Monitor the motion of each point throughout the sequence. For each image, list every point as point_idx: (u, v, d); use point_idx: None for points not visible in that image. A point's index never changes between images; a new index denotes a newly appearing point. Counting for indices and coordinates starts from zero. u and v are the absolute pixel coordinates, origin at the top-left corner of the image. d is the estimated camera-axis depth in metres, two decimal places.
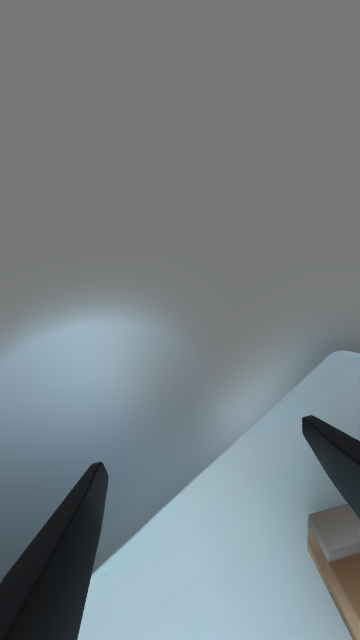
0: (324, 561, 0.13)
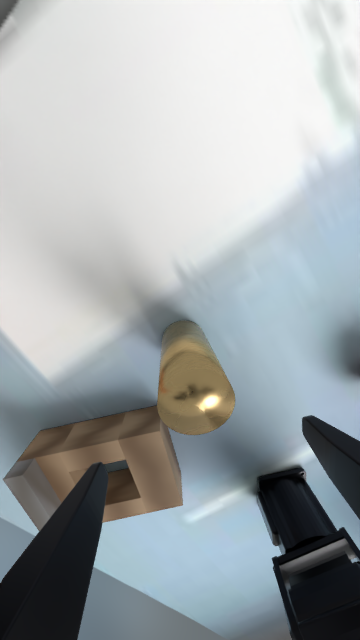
0: None
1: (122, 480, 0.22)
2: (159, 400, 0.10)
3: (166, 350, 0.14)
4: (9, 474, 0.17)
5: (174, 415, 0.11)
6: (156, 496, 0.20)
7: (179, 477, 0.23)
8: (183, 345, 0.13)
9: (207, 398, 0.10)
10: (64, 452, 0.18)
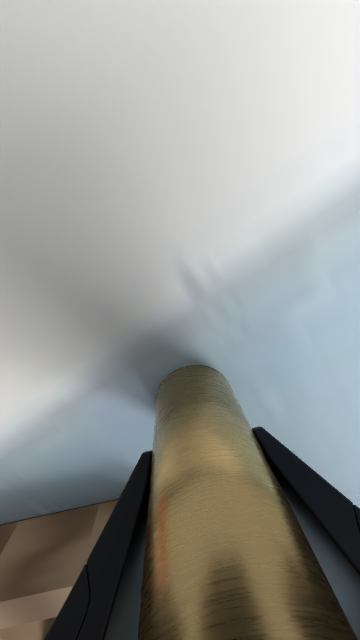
0: None
1: None
2: None
3: (163, 471, 0.06)
4: None
5: None
6: None
7: None
8: (206, 480, 0.05)
9: None
10: None
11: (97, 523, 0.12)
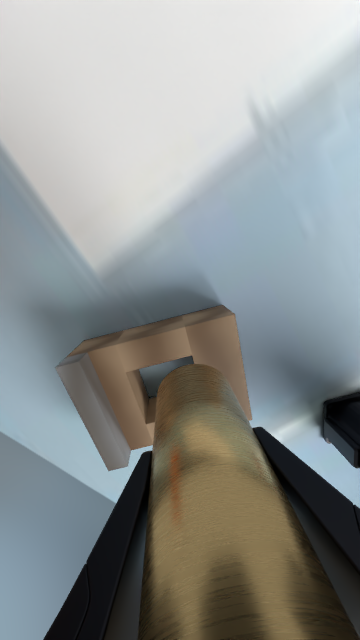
0: None
1: None
2: None
3: (163, 469, 0.06)
4: (61, 364, 0.14)
5: None
6: None
7: None
8: (207, 478, 0.05)
9: None
10: (122, 344, 0.15)
11: (184, 318, 0.17)
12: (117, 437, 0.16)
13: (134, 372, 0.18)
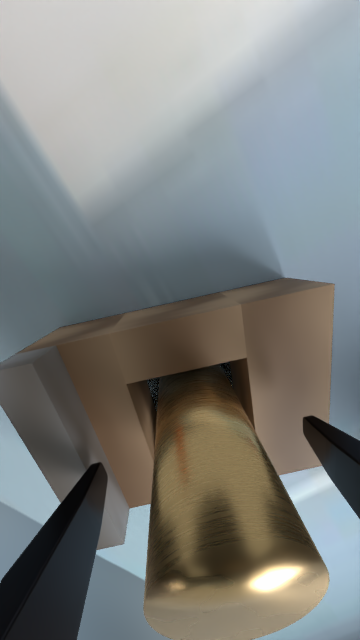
0: None
1: None
2: (148, 602, 0.04)
3: (166, 419, 0.08)
4: None
5: (184, 621, 0.05)
6: (286, 444, 0.11)
7: None
8: (198, 419, 0.07)
9: (264, 589, 0.04)
10: (122, 333, 0.08)
11: (228, 294, 0.10)
12: (107, 497, 0.09)
13: (140, 382, 0.11)
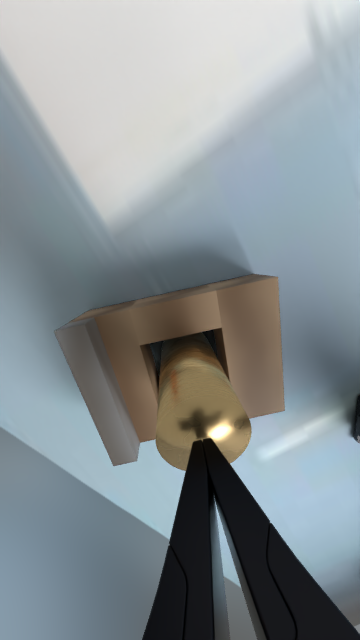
0: None
1: None
2: (158, 433, 0.08)
3: (166, 365, 0.12)
4: (61, 328, 0.11)
5: (176, 450, 0.09)
6: (253, 393, 0.15)
7: None
8: (186, 360, 0.11)
9: (217, 430, 0.08)
10: (137, 309, 0.12)
11: (211, 285, 0.14)
12: (126, 425, 0.13)
13: (147, 349, 0.15)
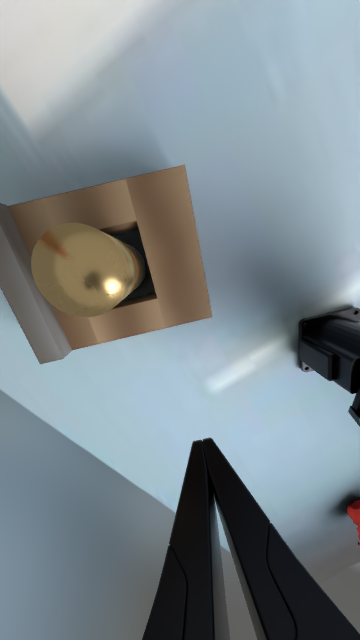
0: None
1: (131, 300, 0.17)
2: (33, 266, 0.09)
3: None
4: None
5: (56, 288, 0.09)
6: (178, 296, 0.15)
7: None
8: None
9: (91, 264, 0.09)
10: (50, 198, 0.13)
11: None
12: (48, 320, 0.14)
13: None
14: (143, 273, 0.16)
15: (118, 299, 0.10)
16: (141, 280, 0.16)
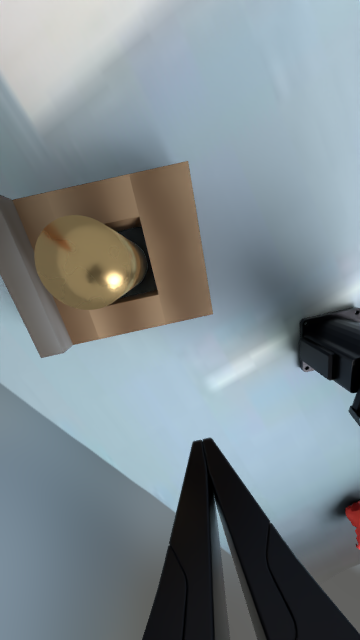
0: None
1: (132, 297, 0.17)
2: (36, 258, 0.09)
3: None
4: None
5: (58, 280, 0.09)
6: (179, 293, 0.15)
7: None
8: None
9: (94, 257, 0.09)
10: (54, 192, 0.13)
11: None
12: (50, 314, 0.14)
13: None
14: (145, 269, 0.16)
15: (120, 292, 0.10)
16: (143, 276, 0.16)
